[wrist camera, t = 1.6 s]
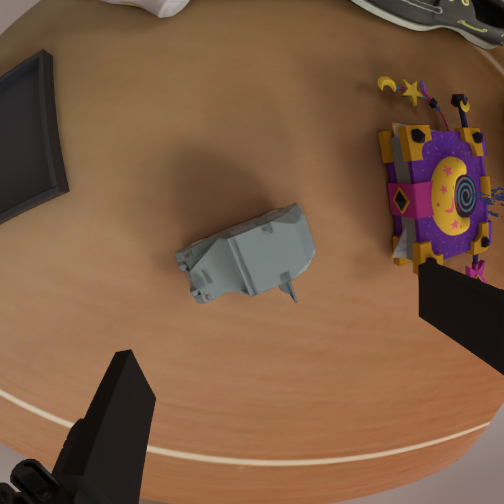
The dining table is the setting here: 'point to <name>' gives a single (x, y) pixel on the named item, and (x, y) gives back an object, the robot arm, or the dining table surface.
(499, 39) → the boat shoe
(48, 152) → the tray
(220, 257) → the toy car
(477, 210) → the purple toy
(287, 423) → the dining table surface
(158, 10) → the mug
